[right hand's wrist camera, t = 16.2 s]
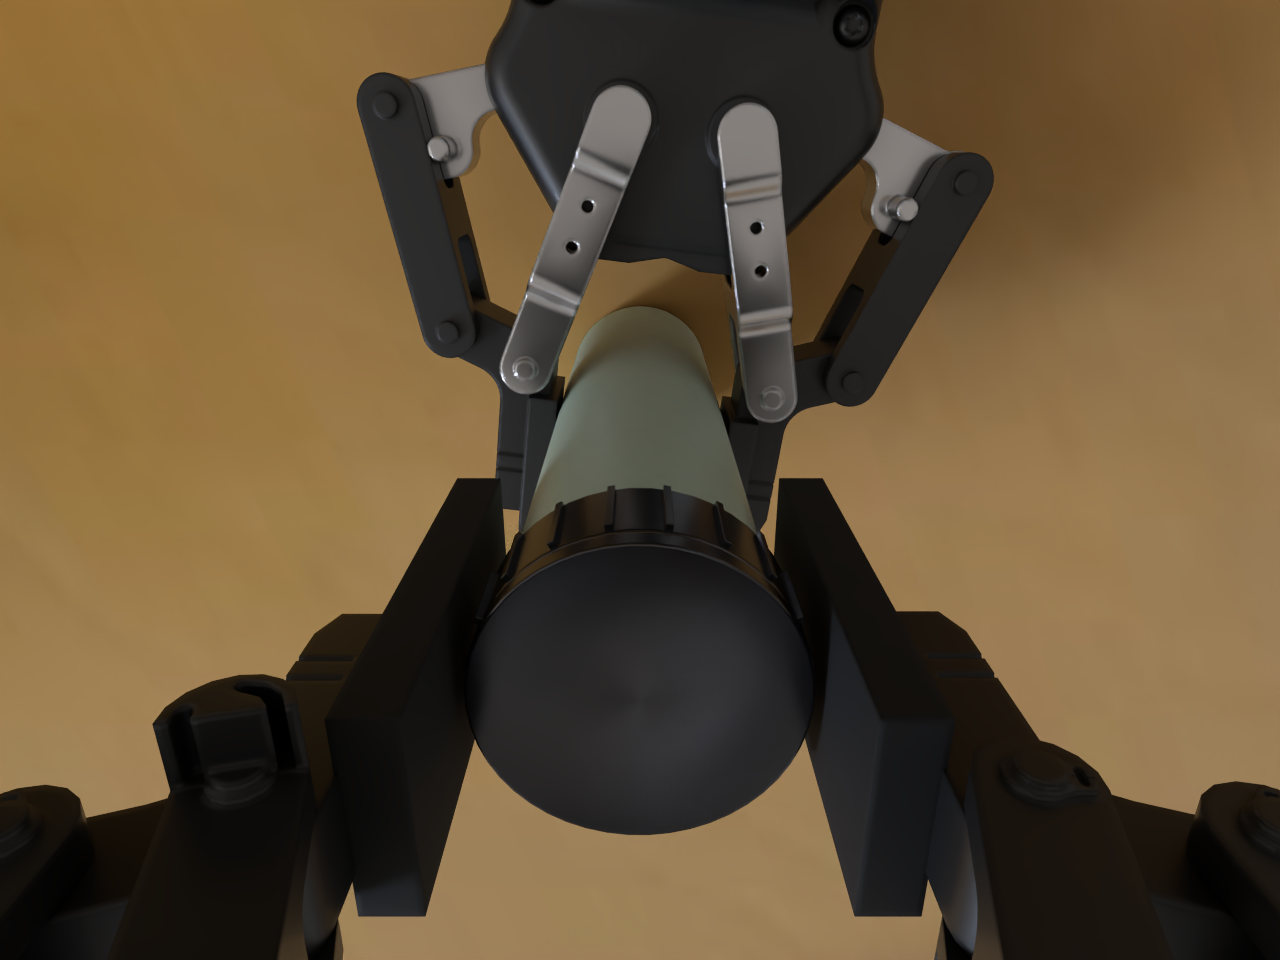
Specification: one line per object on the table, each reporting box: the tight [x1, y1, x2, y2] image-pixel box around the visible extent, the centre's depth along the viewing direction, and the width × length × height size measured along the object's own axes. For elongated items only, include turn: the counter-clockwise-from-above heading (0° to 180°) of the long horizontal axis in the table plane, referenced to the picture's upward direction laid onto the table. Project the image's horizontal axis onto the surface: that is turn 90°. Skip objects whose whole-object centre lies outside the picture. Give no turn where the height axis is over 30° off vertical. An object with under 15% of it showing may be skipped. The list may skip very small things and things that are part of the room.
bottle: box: [522, 306, 757, 534], centre depth 19 cm, size 4×4×16 cm
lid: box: [464, 485, 815, 835], centre depth 12 cm, size 5×5×2 cm
